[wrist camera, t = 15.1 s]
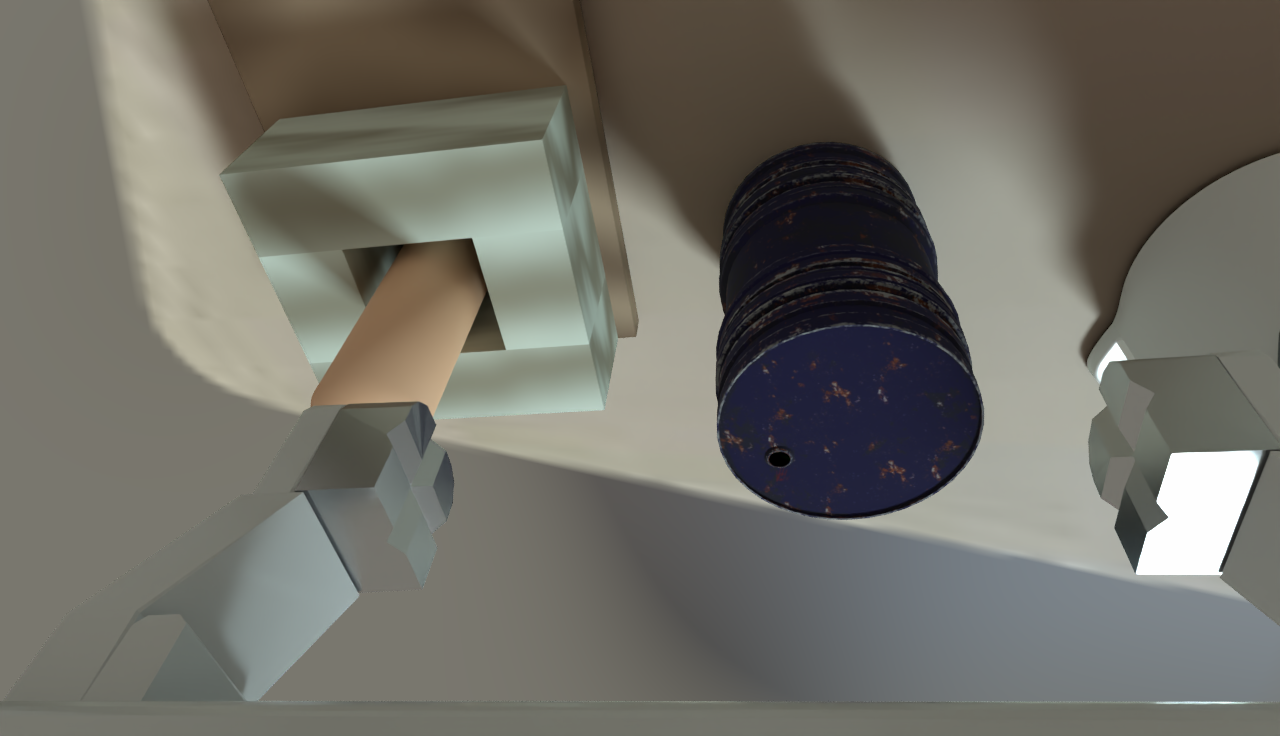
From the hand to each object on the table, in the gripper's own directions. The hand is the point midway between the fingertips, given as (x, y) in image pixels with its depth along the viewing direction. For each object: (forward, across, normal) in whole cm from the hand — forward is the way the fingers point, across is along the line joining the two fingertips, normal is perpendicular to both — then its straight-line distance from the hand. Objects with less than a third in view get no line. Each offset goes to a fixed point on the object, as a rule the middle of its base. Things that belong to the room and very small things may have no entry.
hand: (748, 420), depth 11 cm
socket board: (+31, +15, +8) cm, 35 cm away
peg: (+30, +15, +13) cm, 36 cm away
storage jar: (+31, -3, +15) cm, 35 cm away
